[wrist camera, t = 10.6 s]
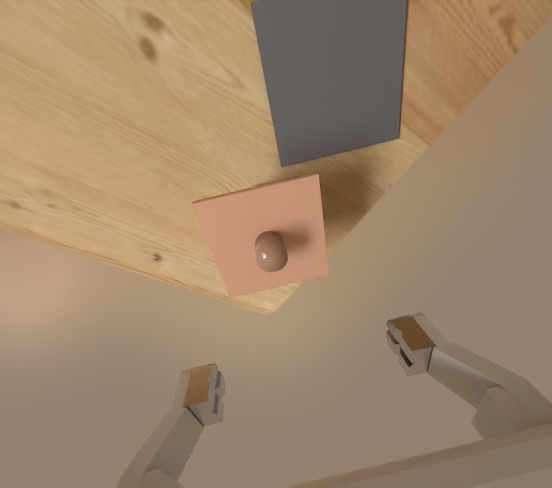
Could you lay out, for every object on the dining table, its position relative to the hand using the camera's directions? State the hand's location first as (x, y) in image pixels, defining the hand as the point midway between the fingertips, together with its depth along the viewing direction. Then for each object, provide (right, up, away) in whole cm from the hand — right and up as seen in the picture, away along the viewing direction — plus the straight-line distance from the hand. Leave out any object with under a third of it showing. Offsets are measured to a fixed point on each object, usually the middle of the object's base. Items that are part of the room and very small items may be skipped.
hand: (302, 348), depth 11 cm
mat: (+6, +24, +16) cm, 29 cm away
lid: (-2, +5, +14) cm, 15 cm away
